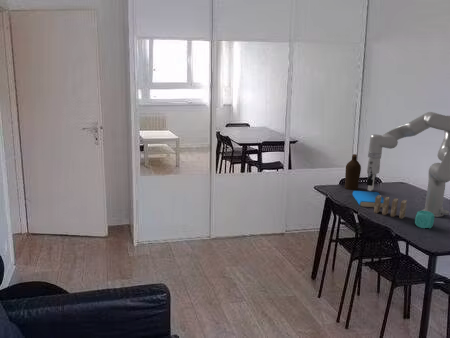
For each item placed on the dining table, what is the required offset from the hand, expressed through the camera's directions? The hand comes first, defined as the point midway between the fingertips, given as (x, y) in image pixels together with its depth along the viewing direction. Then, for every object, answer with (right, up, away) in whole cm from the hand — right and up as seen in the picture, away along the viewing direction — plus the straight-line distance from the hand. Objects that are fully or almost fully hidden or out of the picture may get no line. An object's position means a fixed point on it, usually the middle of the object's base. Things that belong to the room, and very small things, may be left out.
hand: (371, 184), depth 284 cm
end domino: (0, -3, +1) cm, 3 cm away
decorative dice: (+23, -23, -21) cm, 39 cm away
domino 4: (+16, -19, -7) cm, 26 cm away
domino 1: (+4, -17, +1) cm, 17 cm away
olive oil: (+3, -5, +54) cm, 54 cm away
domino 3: (+12, -19, -5) cm, 23 cm away
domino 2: (+8, -18, -2) cm, 19 cm away
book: (+6, -13, +23) cm, 27 cm away
